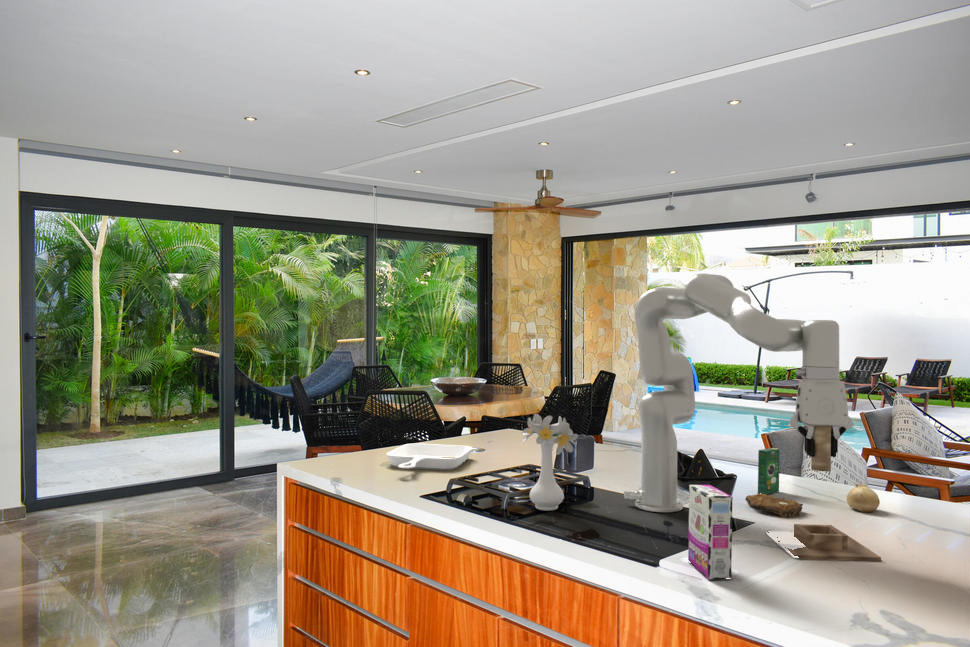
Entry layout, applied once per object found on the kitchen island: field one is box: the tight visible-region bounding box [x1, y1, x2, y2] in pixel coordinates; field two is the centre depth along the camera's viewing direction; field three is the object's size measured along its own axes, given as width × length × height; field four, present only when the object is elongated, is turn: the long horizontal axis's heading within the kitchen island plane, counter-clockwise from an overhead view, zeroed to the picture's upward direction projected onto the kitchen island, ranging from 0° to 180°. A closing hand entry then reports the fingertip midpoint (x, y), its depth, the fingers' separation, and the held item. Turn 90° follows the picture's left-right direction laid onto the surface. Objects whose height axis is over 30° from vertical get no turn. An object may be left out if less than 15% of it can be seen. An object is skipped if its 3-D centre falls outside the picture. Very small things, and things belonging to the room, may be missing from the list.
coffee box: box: [757, 447, 780, 495], centre depth 210 cm, size 8×3×13 cm, turn 129°
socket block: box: [766, 523, 882, 562], centre depth 158 cm, size 18×18×4 cm
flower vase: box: [521, 413, 579, 512], centre depth 190 cm, size 13×18×25 cm
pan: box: [386, 442, 474, 471], centre depth 245 cm, size 27×42×5 cm, turn 167°
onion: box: [846, 482, 881, 513], centre depth 190 cm, size 8×8×7 cm
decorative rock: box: [744, 492, 804, 518], centre depth 189 cm, size 11×4×15 cm
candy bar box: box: [687, 484, 733, 581], centre depth 142 cm, size 11×5×16 cm, turn 5°
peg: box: [810, 426, 832, 472], centre depth 158 cm, size 4×4×12 cm
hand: (820, 455), depth 158 cm, fingers closed on peg, 4 cm apart
